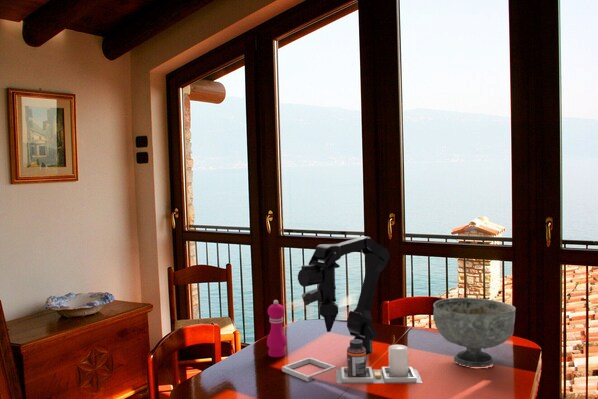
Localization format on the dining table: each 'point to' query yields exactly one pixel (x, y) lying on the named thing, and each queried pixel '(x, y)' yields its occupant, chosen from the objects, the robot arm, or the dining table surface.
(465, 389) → the dining table surface
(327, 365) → the white square frame
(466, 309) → the decorative bowl
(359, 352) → the supplement bottle
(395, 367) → the white peg
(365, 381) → the gray rectangular frame
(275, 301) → the pepper mill
